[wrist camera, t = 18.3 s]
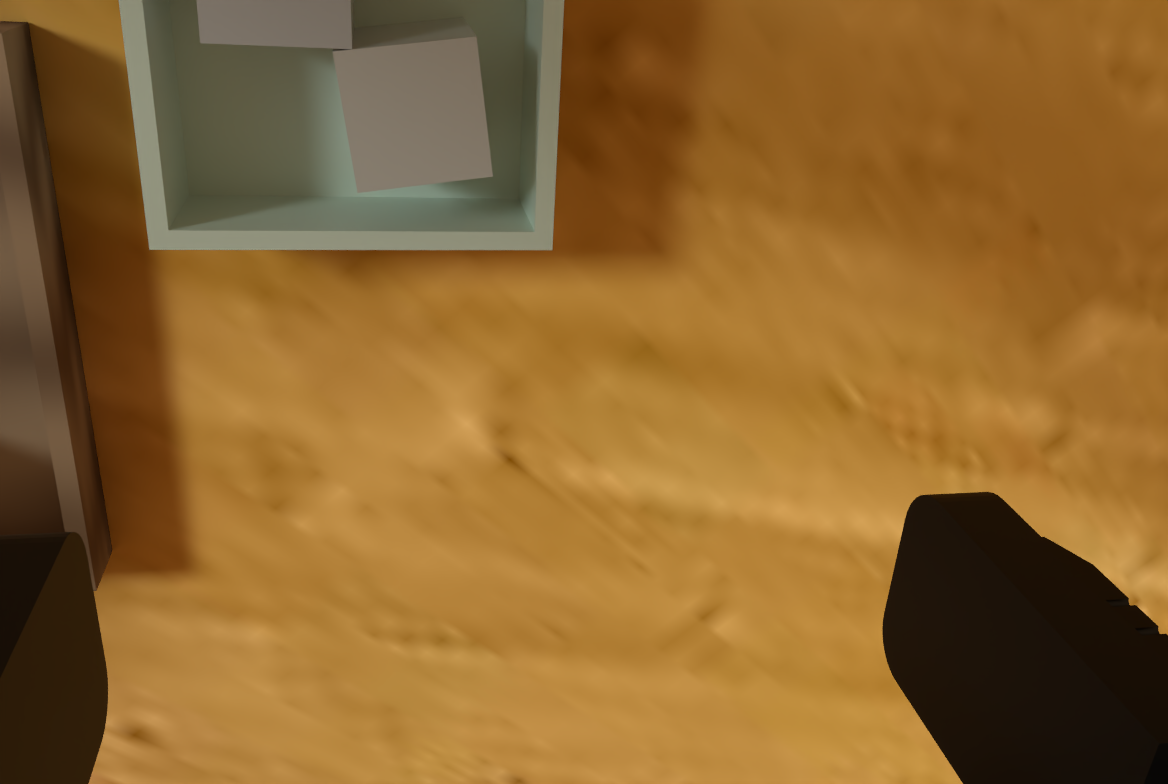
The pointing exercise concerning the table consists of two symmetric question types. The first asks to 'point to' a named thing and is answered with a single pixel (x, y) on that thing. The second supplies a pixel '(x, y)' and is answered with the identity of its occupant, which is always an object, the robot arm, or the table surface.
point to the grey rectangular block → (414, 104)
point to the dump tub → (332, 137)
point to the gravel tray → (40, 334)
